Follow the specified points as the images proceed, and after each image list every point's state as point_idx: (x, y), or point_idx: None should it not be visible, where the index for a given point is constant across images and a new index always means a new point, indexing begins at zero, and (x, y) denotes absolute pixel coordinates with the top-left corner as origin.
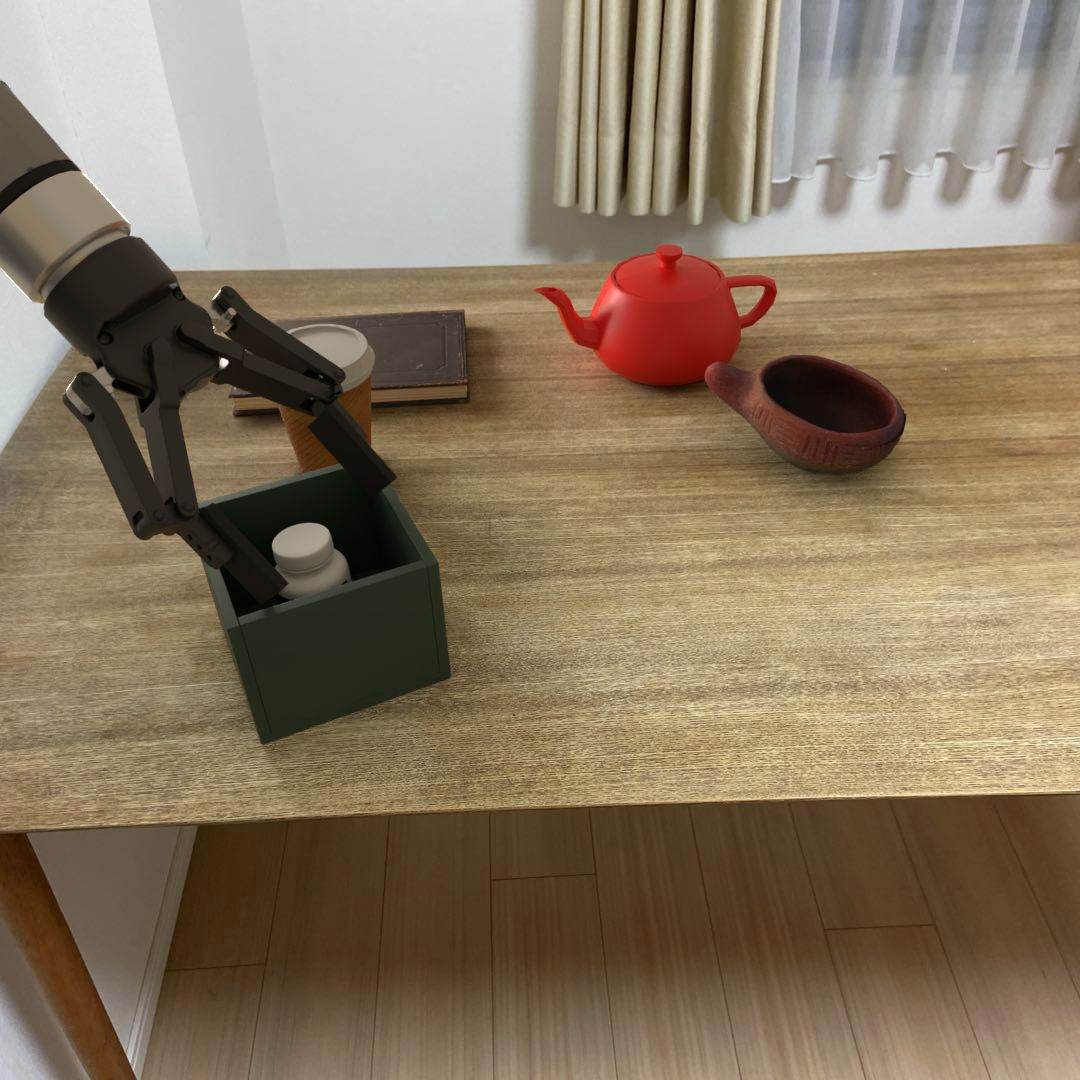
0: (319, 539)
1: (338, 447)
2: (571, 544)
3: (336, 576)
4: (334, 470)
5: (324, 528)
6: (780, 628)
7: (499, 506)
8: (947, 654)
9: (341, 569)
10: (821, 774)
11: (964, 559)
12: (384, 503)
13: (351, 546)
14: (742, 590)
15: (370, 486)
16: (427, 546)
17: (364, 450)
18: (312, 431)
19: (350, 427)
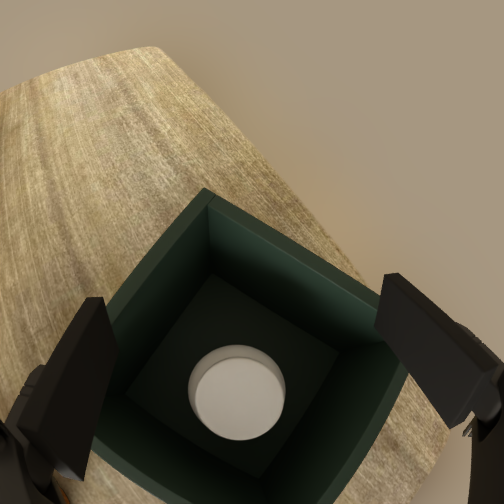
0: (227, 374)
1: (85, 405)
2: (40, 257)
3: (235, 347)
4: (95, 438)
5: (201, 386)
6: (91, 122)
7: (17, 335)
8: (97, 77)
9: (220, 351)
10: (184, 84)
11: (38, 94)
12: None
13: (135, 415)
14: (65, 147)
15: (110, 345)
16: (182, 212)
17: (75, 341)
18: (84, 467)
19: (45, 376)
